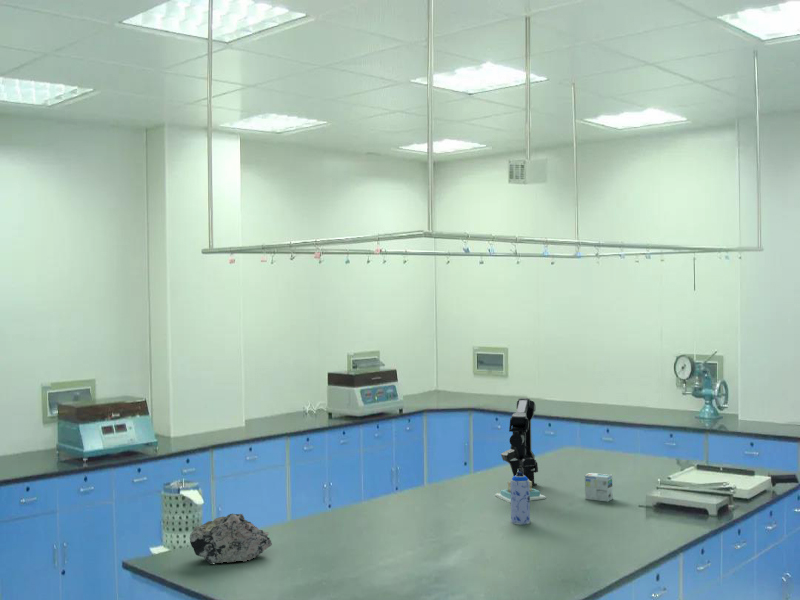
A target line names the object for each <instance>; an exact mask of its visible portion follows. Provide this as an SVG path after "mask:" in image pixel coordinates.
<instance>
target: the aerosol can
mask: <svg viewBox="0 0 800 600" xmlns="http://www.w3.org/2000/svg"><path fill="white" fill-rule="evenodd" d="M510 482H511V503H510V517H511V518H510V523H511V524H514V525H521V526H522V525H529V524H531V505H530V504H531V500H530V482H529V479H528V478H527V477H526V476H524V475H523V472H522V471H519V472H518V471H517V475H515V476H512V477H511V479H510Z"/></svg>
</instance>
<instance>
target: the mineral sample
mask: <svg viewBox="0 0 800 600" xmlns="http://www.w3.org/2000/svg"><path fill="white" fill-rule="evenodd" d="M269 535H270V533H269V532H266V531H264V530H262V529H259V528H258V527H257V526H256V525H254V524H253V523H252V522H251V521H248V520H246V519H245V517H244V514H243V513H238V514H237V513H236V514H235V513H229V514H227V515H226V516H219V517H216V518H215V519H214V520H208V521H206V522H205V523H204V524H200V525H196V526H195V527H194V529H193V531H192V532H191V533H190V536H189V540H190V546H191V547H192V549H193V551H194V554H195V555H196V556H198V557H199V558H200V557H202V558H204V559H205V560H206V561H207V562H208V564H209V563H210V564H213V563H221V564H224V563H223V562H227V563H234V562H236V561H243V562H248V561H247V560H249V561H251V560H253V558H254V559H255V558H257V557H258V556H259V555H260V554H262V553H263V552H264V551H266V550H267V549H268V548H269V547H271V546H272V545H273V543H272V540H271V537H268V536H269ZM210 564H209V565H210Z"/></svg>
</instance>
